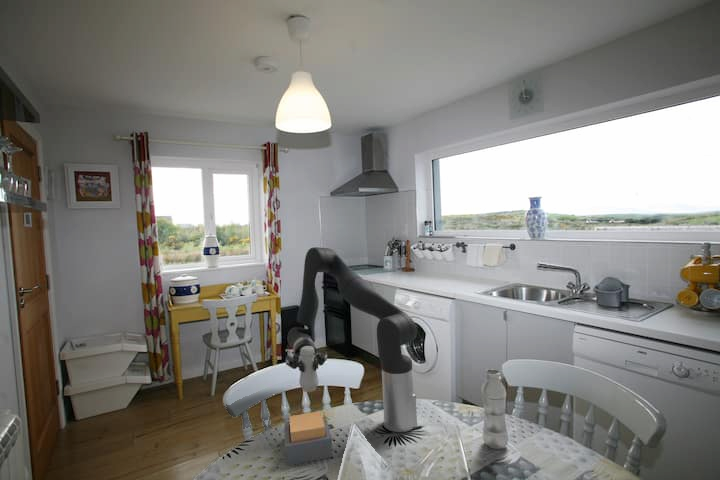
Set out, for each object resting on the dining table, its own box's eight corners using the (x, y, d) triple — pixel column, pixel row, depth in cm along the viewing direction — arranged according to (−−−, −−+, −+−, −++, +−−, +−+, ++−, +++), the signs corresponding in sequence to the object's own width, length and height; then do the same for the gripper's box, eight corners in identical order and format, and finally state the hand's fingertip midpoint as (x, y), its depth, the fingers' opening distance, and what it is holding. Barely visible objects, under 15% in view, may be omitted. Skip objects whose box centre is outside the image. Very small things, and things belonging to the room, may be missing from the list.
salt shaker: (315, 393, 110) (313, 350, 109) (297, 393, 111) (294, 350, 110) (321, 385, 115) (319, 344, 115) (304, 384, 116) (301, 343, 116)
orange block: (321, 423, 107) (320, 411, 107) (325, 439, 99) (324, 426, 99) (289, 428, 105) (289, 416, 105) (291, 445, 97) (290, 432, 97)
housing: (326, 433, 109) (325, 416, 109) (332, 456, 98) (331, 438, 98) (285, 440, 107) (284, 423, 107) (286, 465, 95) (285, 446, 95)
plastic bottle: (482, 450, 97) (479, 375, 97) (483, 436, 104) (480, 366, 103) (509, 454, 95) (506, 377, 95) (508, 440, 101) (505, 368, 101)
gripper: (283, 342, 125) (284, 358, 108) (324, 337, 128) (331, 352, 111) (284, 364, 125) (285, 384, 108) (325, 358, 128) (333, 377, 112)
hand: (309, 368), depth 110 cm, fingers closed on salt shaker, 3 cm apart
